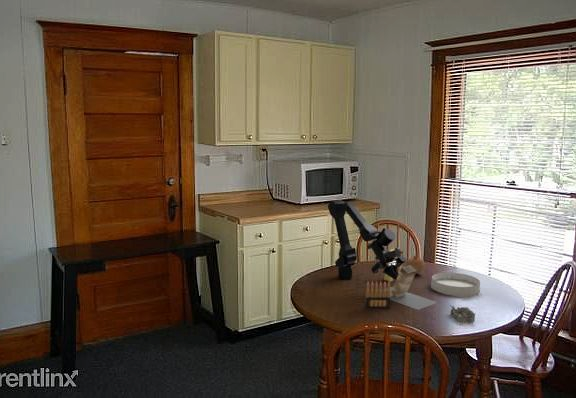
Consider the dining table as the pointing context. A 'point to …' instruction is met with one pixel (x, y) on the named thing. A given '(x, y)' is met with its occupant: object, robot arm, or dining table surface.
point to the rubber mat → (411, 300)
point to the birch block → (403, 281)
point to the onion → (416, 263)
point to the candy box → (398, 269)
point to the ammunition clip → (377, 296)
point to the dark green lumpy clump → (463, 314)
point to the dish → (456, 284)
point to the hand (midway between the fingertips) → (398, 280)
